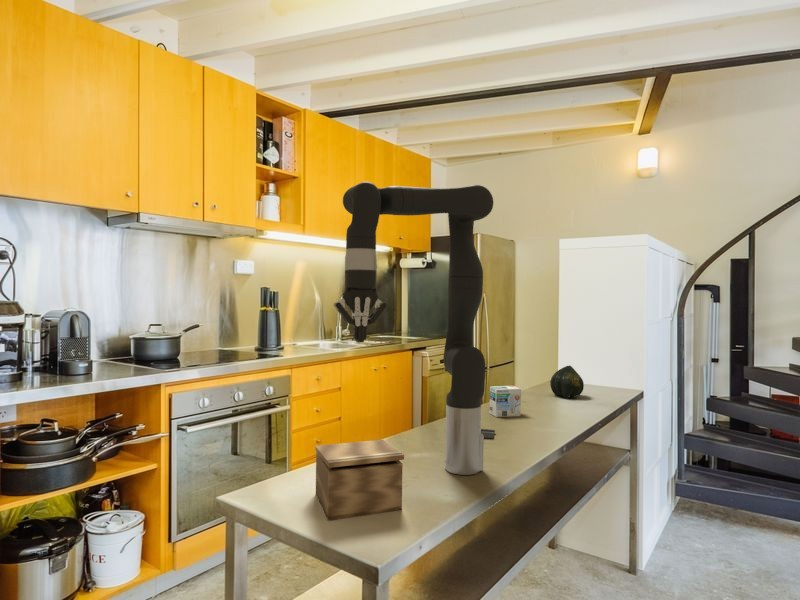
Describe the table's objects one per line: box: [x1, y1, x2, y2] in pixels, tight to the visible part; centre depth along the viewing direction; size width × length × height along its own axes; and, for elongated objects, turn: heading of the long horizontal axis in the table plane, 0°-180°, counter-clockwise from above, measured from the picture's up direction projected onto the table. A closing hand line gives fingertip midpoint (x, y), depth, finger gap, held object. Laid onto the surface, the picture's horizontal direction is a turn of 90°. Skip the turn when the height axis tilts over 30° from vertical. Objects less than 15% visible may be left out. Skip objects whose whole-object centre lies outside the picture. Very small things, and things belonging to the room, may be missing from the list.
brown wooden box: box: [315, 451, 403, 522], centre depth 110 cm, size 16×14×10 cm
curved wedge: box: [481, 428, 496, 440], centre depth 164 cm, size 8×14×2 cm, turn 76°
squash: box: [549, 365, 585, 399], centre depth 229 cm, size 14×15×15 cm
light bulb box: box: [488, 385, 522, 418], centre depth 192 cm, size 11×7×11 cm, turn 104°
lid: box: [315, 439, 405, 468], centre depth 110 cm, size 16×14×1 cm
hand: (359, 341), depth 117 cm, fingers closed
